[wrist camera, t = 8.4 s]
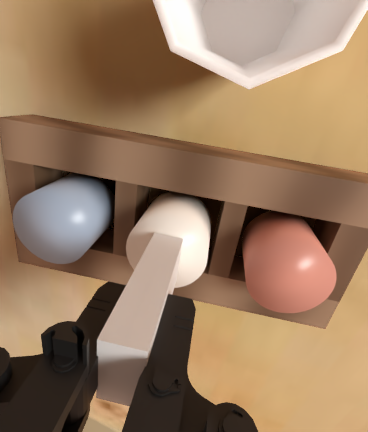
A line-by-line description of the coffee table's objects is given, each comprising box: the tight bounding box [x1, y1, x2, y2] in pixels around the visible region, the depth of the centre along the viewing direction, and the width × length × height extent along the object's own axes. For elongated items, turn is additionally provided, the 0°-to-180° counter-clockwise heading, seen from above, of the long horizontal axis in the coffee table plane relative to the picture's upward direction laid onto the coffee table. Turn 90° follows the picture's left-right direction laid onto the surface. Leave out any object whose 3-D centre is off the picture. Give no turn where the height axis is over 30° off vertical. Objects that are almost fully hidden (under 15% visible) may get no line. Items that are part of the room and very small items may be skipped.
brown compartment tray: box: [0, 115, 368, 329], centre depth 18 cm, size 22×10×3 cm, turn 82°
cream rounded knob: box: [126, 191, 211, 288], centre depth 16 cm, size 4×4×4 cm
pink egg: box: [242, 211, 337, 313], centre depth 15 cm, size 4×4×4 cm
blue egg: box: [13, 173, 115, 264], centre depth 16 cm, size 4×4×4 cm
